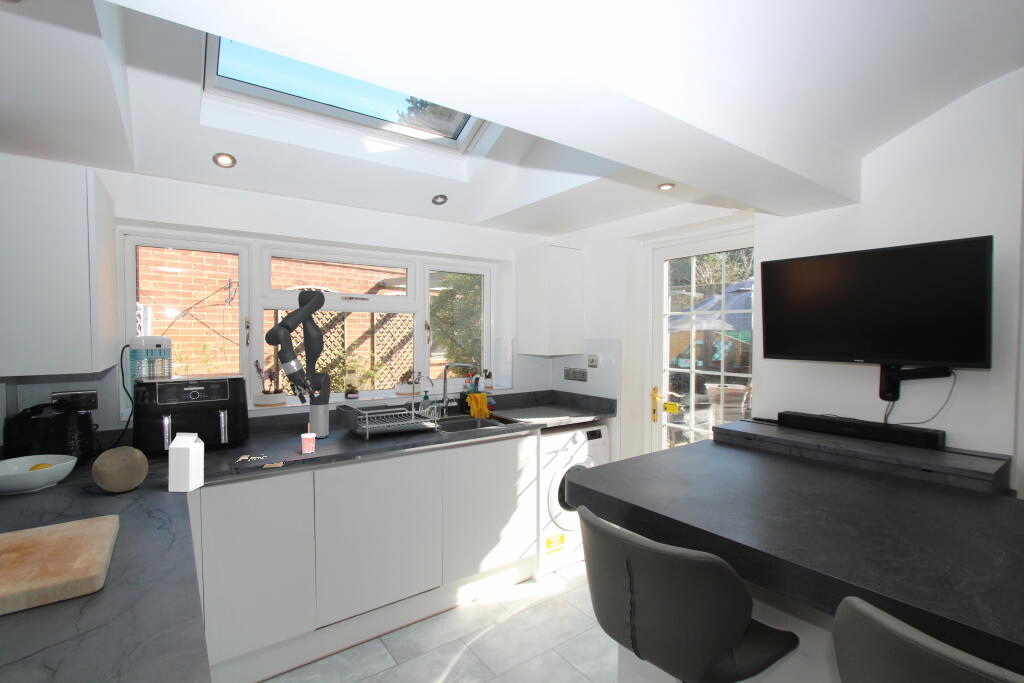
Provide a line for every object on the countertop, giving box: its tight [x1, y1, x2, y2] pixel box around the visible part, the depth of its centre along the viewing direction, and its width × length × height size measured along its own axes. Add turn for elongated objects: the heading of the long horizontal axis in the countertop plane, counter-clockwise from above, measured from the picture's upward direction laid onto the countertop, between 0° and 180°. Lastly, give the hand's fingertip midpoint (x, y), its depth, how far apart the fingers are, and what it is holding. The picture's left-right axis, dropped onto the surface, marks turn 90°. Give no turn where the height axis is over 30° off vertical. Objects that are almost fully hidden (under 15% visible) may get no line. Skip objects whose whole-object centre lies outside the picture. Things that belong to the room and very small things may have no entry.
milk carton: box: [168, 432, 205, 493], centre depth 161 cm, size 7×7×19 cm
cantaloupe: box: [91, 445, 149, 493], centre depth 156 cm, size 14×14×15 cm
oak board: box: [236, 454, 284, 468], centre depth 196 cm, size 18×18×1 cm
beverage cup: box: [300, 422, 316, 454], centre depth 208 cm, size 6×6×14 cm
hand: (309, 402), depth 216 cm, fingers open, 8 cm apart
